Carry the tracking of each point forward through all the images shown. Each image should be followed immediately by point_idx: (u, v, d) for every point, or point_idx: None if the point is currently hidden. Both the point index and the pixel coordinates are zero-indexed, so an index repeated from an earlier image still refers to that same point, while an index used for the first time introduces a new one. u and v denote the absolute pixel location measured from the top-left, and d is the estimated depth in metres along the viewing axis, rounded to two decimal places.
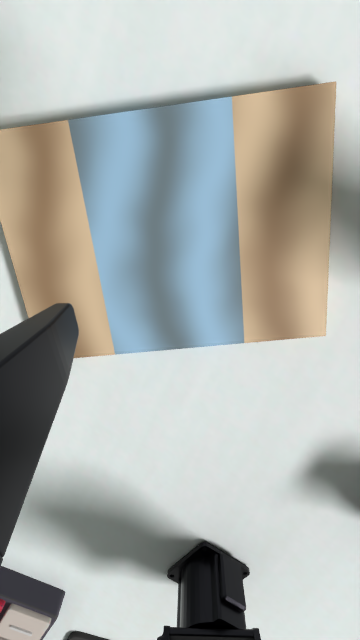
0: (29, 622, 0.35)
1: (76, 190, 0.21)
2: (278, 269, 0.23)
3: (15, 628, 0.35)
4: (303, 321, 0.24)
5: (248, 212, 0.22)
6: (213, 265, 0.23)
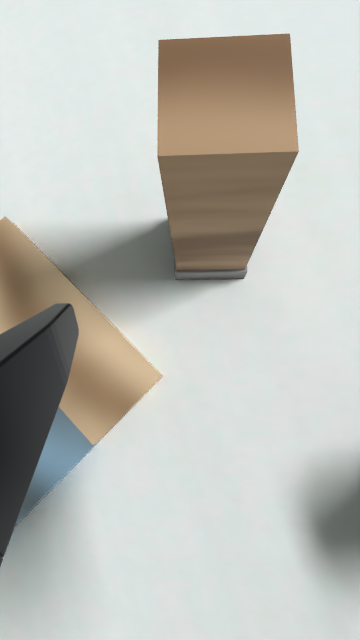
0: None
1: None
2: None
3: None
4: (129, 379, 0.21)
5: None
6: None
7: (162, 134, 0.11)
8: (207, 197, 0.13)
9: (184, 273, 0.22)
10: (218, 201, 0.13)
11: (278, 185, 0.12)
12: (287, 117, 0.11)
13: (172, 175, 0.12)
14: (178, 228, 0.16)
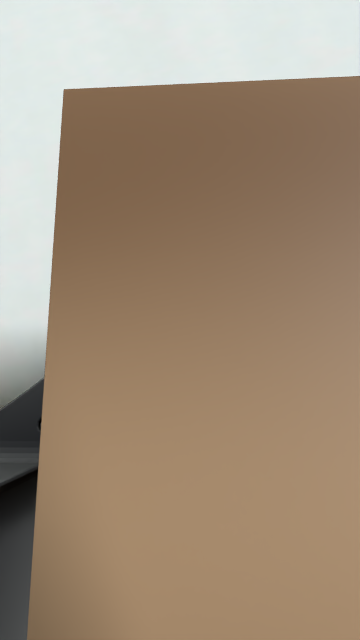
0: None
1: None
2: None
3: None
4: None
5: None
6: None
7: (56, 532, 0.02)
8: None
9: None
10: None
11: None
12: None
13: None
14: None
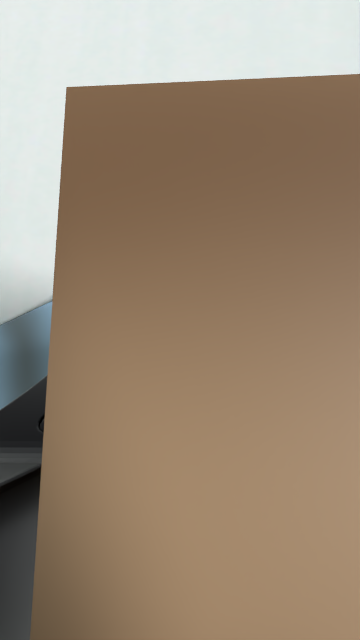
0: None
1: None
2: None
3: None
4: None
5: None
6: None
7: (60, 528, 0.02)
8: None
9: None
10: None
11: None
12: None
13: None
14: None
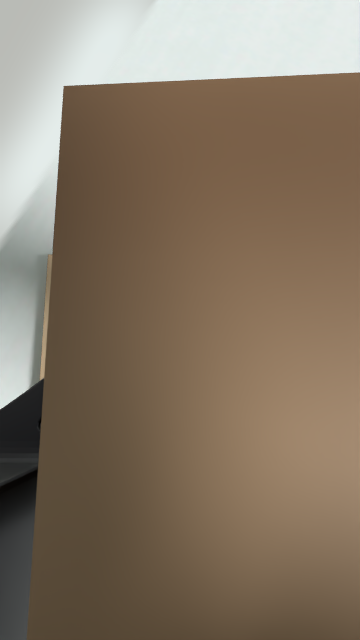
0: None
1: None
2: None
3: None
4: None
5: None
6: None
7: (56, 528, 0.02)
8: None
9: None
10: None
11: None
12: None
13: None
14: None
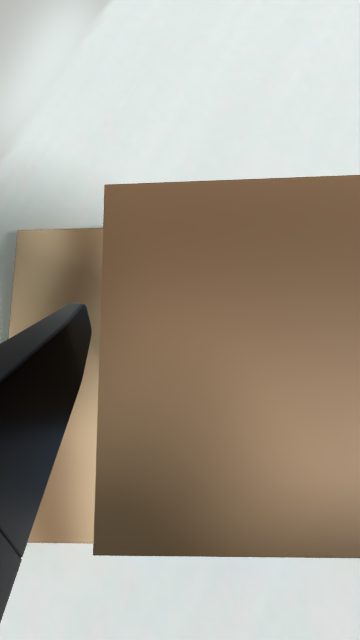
0: None
1: None
2: None
3: None
4: None
5: None
6: None
7: (109, 477, 0.04)
8: None
9: None
10: None
11: None
12: None
13: None
14: None
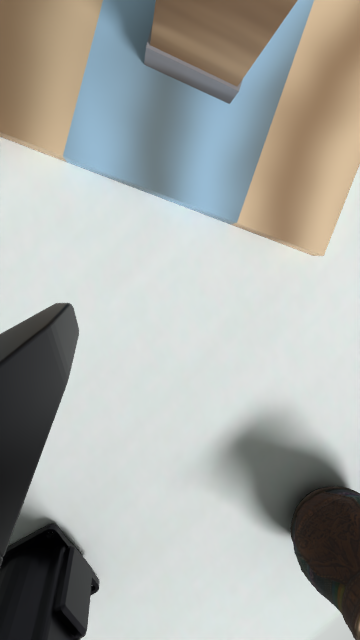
0: None
1: None
2: (309, 146, 0.19)
3: None
4: (309, 226, 0.20)
5: (307, 58, 0.18)
6: (244, 99, 0.18)
7: None
8: None
9: (159, 55, 0.15)
10: None
11: None
12: None
13: None
14: None
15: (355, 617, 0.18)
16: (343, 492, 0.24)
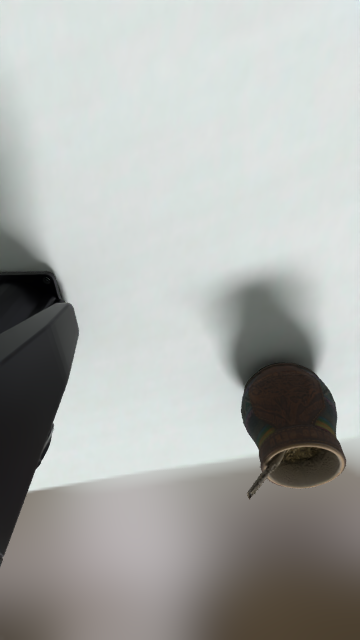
0: None
1: None
2: None
3: None
4: None
5: None
6: None
7: None
8: None
9: None
10: None
11: None
12: None
13: None
14: None
15: (272, 450, 0.21)
16: (311, 373, 0.25)
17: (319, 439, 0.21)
